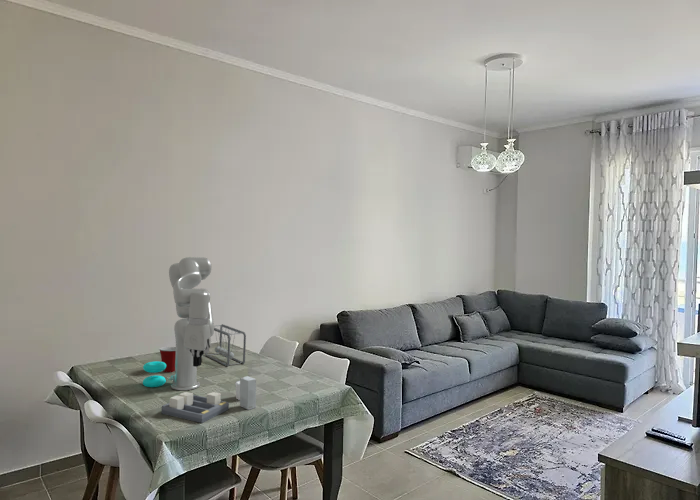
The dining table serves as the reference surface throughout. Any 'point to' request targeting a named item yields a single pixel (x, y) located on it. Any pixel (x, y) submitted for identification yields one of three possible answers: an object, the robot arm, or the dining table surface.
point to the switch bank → (197, 410)
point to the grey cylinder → (237, 390)
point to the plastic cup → (168, 358)
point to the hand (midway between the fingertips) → (197, 365)
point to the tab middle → (187, 398)
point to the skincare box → (248, 392)
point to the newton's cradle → (227, 352)
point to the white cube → (177, 402)
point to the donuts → (156, 379)
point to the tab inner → (214, 398)
